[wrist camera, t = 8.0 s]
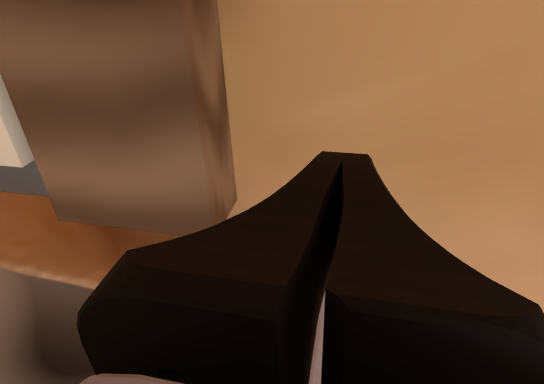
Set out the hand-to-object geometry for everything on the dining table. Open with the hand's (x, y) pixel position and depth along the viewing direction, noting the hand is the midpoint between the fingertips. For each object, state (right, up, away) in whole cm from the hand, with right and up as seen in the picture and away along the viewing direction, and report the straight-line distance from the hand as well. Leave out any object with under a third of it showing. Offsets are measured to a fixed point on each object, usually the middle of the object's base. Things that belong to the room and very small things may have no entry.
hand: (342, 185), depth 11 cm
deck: (-9, +6, +12) cm, 16 cm away
